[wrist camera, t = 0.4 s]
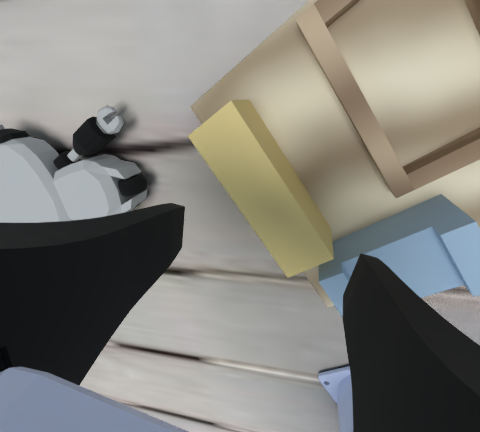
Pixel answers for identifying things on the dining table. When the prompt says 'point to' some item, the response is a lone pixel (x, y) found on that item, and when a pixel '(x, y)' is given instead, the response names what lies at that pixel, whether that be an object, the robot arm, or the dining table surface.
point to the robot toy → (67, 176)
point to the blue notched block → (412, 250)
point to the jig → (369, 105)
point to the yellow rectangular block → (264, 187)
